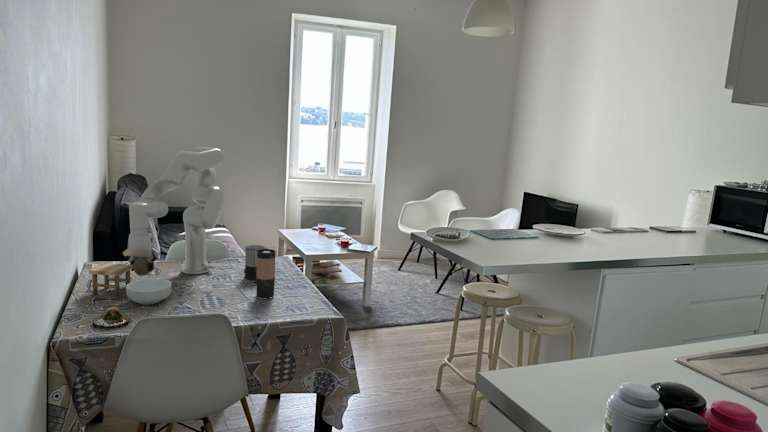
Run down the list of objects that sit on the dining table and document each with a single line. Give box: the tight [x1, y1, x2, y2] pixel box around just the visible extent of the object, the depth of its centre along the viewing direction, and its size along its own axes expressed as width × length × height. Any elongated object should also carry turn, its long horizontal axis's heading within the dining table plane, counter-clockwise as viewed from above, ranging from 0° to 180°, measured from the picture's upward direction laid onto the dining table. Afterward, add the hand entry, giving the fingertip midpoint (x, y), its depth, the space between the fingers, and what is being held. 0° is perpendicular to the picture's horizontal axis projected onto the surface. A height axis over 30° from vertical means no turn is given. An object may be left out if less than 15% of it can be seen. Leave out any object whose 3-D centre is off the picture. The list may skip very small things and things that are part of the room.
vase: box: [133, 257, 150, 277], centre depth 234 cm, size 7×7×9 cm
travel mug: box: [255, 248, 276, 299], centre depth 228 cm, size 8×8×20 cm
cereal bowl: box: [125, 278, 172, 305], centre depth 214 cm, size 17×17×7 cm
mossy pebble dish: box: [92, 306, 131, 328], centre depth 190 cm, size 12×12×8 cm
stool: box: [88, 262, 133, 298], centre depth 222 cm, size 12×12×10 cm
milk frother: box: [243, 244, 268, 280], centre depth 259 cm, size 14×16×15 cm
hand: (142, 270), depth 235 cm, fingers closed on vase, 7 cm apart
